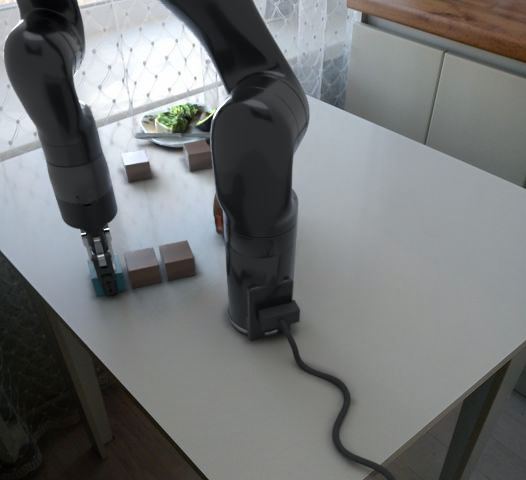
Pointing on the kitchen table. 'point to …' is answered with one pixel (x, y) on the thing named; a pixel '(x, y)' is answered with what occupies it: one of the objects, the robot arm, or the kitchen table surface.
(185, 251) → the brown wooden block pair
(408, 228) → the kitchen table surface
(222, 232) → the tin
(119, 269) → the letter S
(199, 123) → the salad plate
